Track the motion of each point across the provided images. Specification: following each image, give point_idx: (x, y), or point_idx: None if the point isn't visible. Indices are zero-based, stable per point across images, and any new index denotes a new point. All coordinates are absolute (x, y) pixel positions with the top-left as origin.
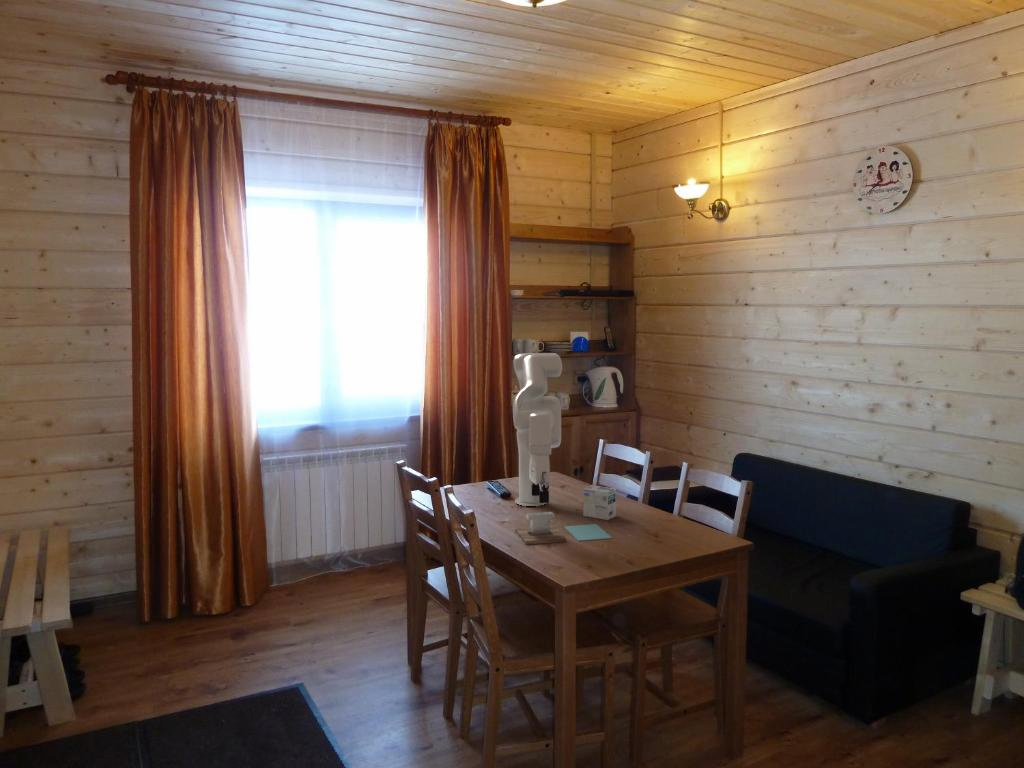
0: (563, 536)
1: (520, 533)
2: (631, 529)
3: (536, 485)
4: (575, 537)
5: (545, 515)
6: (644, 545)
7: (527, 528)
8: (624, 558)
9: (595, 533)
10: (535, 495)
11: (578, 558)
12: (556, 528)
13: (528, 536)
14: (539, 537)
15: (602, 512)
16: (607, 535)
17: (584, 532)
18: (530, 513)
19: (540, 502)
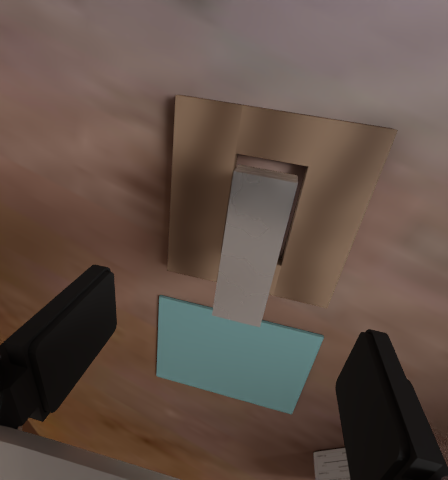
0: (183, 270)
1: (299, 121)
2: (212, 440)
3: (374, 472)
4: (190, 305)
5: (218, 272)
6: (91, 392)
7: (357, 193)
8: (7, 313)
9: (205, 366)
10: (352, 351)
11: (7, 214)
12: (287, 298)
13: (236, 141)
14: (202, 183)
15: (333, 474)
16: (177, 378)
17: (228, 350)
18: (283, 210)
19: (93, 270)
